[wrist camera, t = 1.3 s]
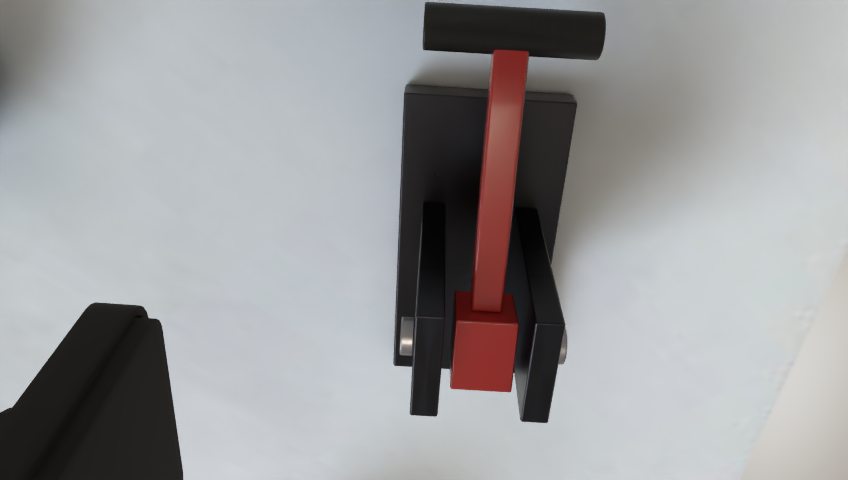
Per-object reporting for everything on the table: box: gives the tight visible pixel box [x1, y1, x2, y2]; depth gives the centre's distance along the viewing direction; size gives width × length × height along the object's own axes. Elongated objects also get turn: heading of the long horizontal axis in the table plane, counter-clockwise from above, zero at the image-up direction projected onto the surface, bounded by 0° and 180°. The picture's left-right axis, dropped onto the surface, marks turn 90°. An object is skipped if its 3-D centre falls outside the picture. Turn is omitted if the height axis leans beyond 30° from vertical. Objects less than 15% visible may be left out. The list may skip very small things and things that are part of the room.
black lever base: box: [394, 85, 577, 423], centre depth 29 cm, size 14×7×10 cm, turn 177°
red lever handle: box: [423, 2, 606, 392], centre depth 25 cm, size 13×6×2 cm, turn 177°
